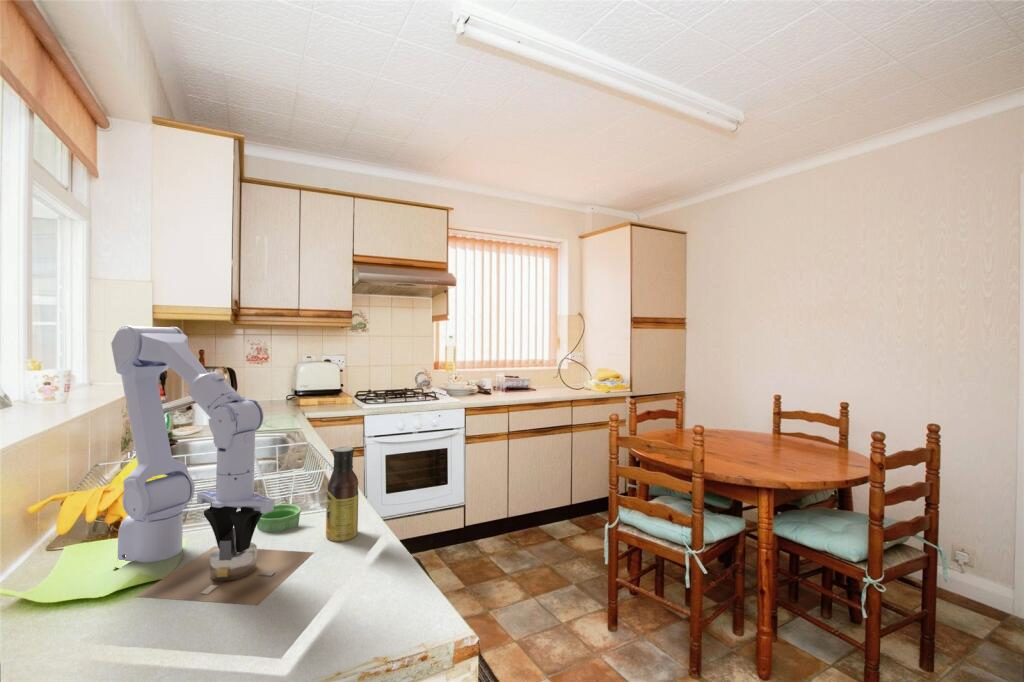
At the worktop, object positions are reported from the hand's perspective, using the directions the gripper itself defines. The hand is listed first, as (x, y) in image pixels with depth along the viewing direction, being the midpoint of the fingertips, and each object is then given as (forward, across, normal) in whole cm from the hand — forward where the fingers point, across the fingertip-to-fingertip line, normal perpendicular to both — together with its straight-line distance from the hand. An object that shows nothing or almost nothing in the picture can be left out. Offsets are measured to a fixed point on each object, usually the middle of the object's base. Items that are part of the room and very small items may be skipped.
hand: (234, 548), depth 83 cm
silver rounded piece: (+4, 0, 0) cm, 4 cm away
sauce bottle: (+6, +8, +19) cm, 22 cm away
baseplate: (+6, 0, 0) cm, 6 cm away
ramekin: (+6, -8, +20) cm, 22 cm away
